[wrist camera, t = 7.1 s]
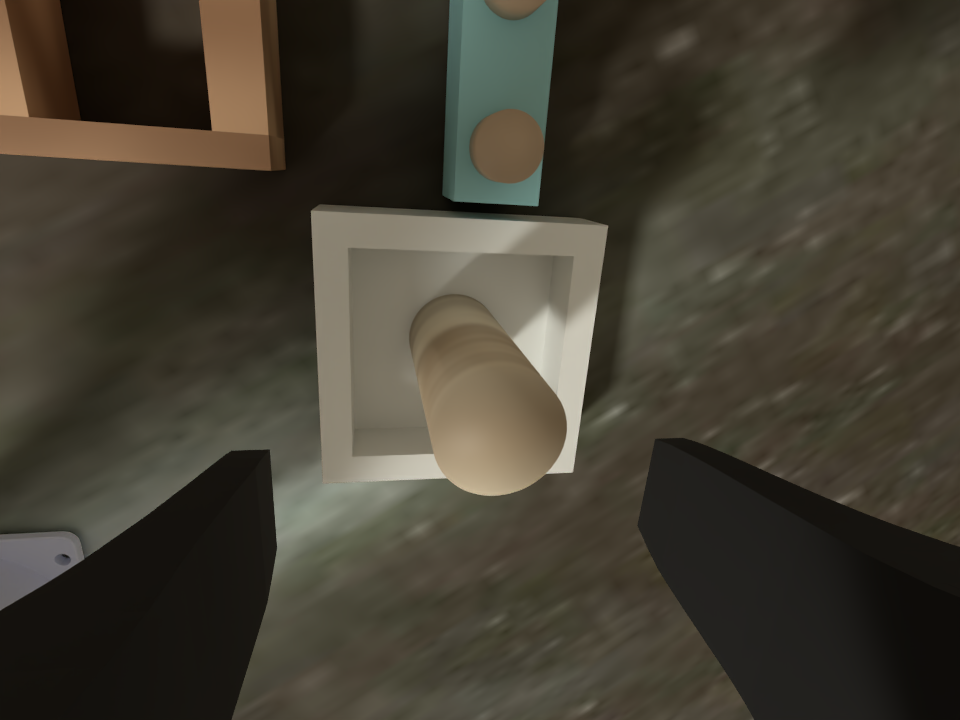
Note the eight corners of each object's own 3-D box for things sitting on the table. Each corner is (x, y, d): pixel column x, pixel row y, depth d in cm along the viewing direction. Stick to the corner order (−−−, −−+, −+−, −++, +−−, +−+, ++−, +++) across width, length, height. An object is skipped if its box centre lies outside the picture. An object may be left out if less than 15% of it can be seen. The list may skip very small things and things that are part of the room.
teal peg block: (513, 199, 18) (550, 209, 14) (442, 195, 18) (459, 204, 14) (534, -43, 16) (584, -109, 12) (451, -55, 15) (476, -128, 12)
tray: (552, 439, 22) (572, 472, 20) (329, 446, 20) (322, 483, 18) (580, 217, 19) (608, 225, 17) (320, 204, 17) (310, 210, 15)
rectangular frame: (285, 169, 17) (270, 170, 14) (-176, 140, 14) (-281, 135, 12) (272, -60, 15) (253, -101, 12) (-267, -136, 12) (-416, -205, 10)
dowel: (495, 375, 20) (562, 488, 13) (410, 380, 19) (433, 502, 12) (497, 292, 19) (571, 368, 12) (407, 295, 18) (431, 377, 11)
